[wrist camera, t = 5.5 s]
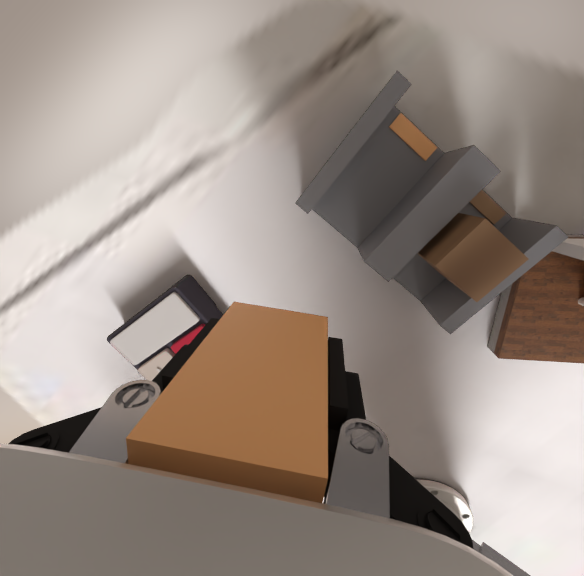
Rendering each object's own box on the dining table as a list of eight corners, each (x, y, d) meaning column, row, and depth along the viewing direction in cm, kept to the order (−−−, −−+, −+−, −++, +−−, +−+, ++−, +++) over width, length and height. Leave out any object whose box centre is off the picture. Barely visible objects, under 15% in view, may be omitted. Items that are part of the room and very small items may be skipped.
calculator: (197, 434, 34) (99, 343, 30) (210, 407, 38) (125, 322, 34) (270, 395, 30) (171, 287, 27) (276, 369, 34) (190, 272, 31)
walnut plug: (476, 239, 25) (528, 259, 18) (439, 273, 26) (476, 302, 20) (443, 209, 24) (485, 218, 18) (408, 245, 26) (435, 265, 19)
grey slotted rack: (515, 225, 25) (569, 237, 19) (426, 305, 28) (450, 334, 23) (380, 97, 23) (396, 69, 18) (301, 199, 26) (294, 202, 21)
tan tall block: (327, 317, 12) (328, 478, 5) (313, 393, 13) (299, 596, 7) (234, 301, 12) (126, 437, 6) (229, 378, 14) (138, 559, 7)
